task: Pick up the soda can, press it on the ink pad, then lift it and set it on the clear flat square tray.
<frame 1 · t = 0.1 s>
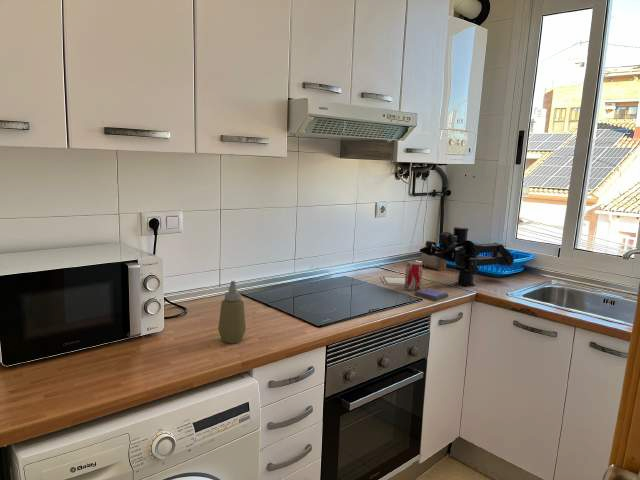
hand: (426, 252, 204), 17 cm above the worktop, tool horizontal, fingers open, 9 cm apart
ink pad: (431, 295, 197), on the worktop
soda can: (412, 289, 206), on the worktop
squeeze bottle: (231, 341, 139), on the worktop
food item: (432, 268, 252), on the worktop
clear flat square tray: (397, 281, 218), on the worktop
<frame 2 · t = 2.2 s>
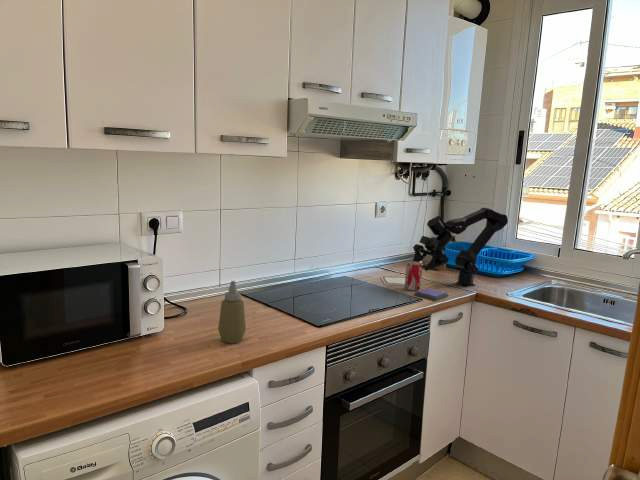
hand: (418, 267, 206), 10 cm above the worktop, tool tilted 45°, fingers open, 9 cm apart
nothing on the worktop moved.
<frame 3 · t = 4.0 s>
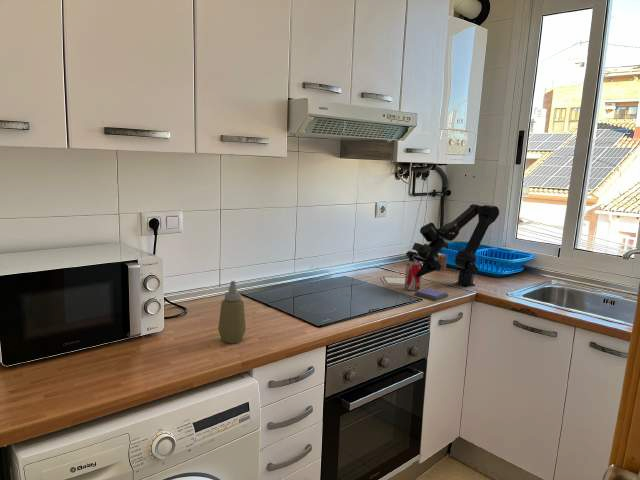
hand: (411, 274, 204), 7 cm above the worktop, tool tilted 45°, fingers closed on soda can, 7 cm apart
soda can: (412, 289, 206), on the worktop, touching gripper
everything else where it was.
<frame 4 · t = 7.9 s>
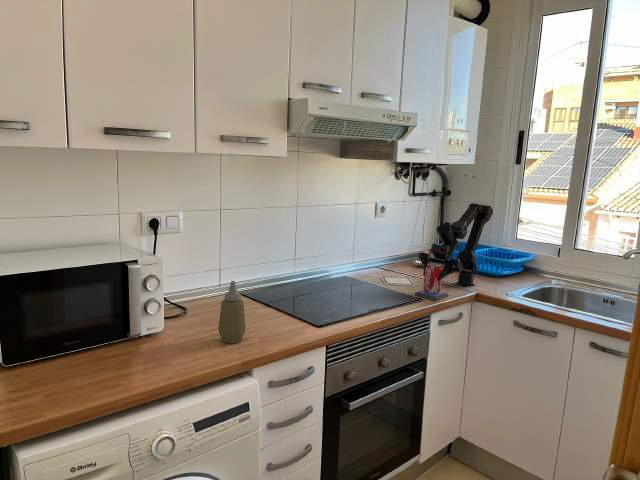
hand: (431, 277, 195), 8 cm above the worktop, tool tilted 45°, fingers closed on soda can, 7 cm apart
soda can: (431, 292, 197), point 1 cm above the worktop, touching gripper, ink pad
everything else where it was.
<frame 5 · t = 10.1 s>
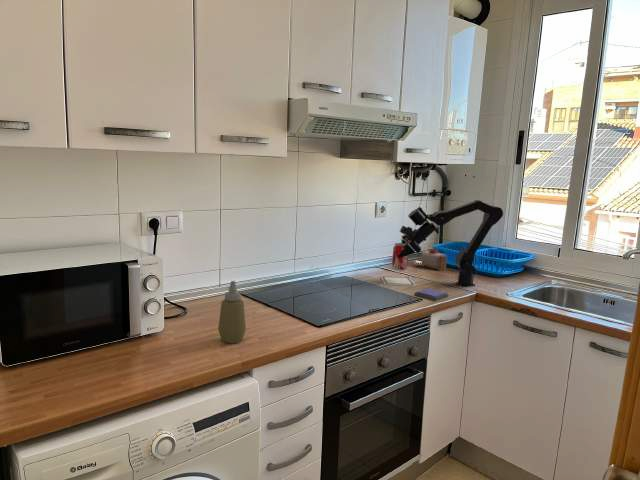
hand: (397, 255, 216), 12 cm above the worktop, tool tilted 45°, fingers closed on soda can, 7 cm apart
soda can: (399, 270, 217), point 6 cm above the worktop, touching gripper
everything else where it was.
when the fingers open (8 cm above the worktop, at t = 12.0 s): soda can stays where it is, resting on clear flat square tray.
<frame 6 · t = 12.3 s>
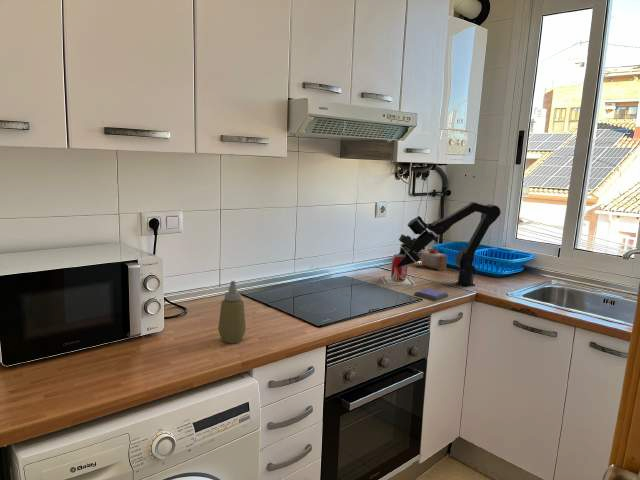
hand: (396, 264, 217), 8 cm above the worktop, tool tilted 45°, fingers open, 9 cm apart
soda can: (398, 280, 218), resting on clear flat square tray
everything else where it was.
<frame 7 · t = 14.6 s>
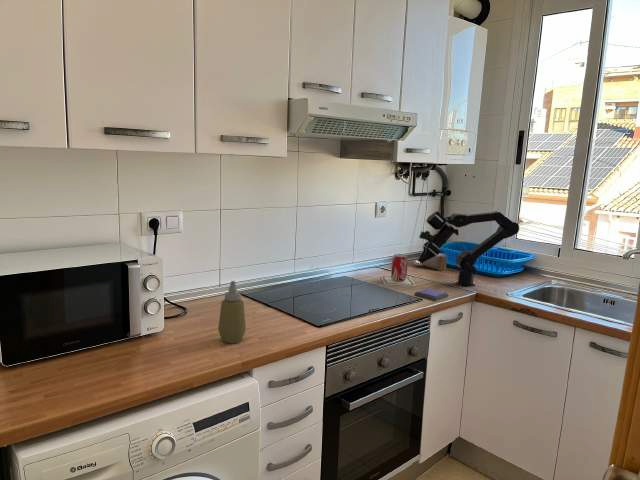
hand: (419, 261, 216), 10 cm above the worktop, tool tilted 40°, fingers open, 9 cm apart
nothing on the worktop moved.
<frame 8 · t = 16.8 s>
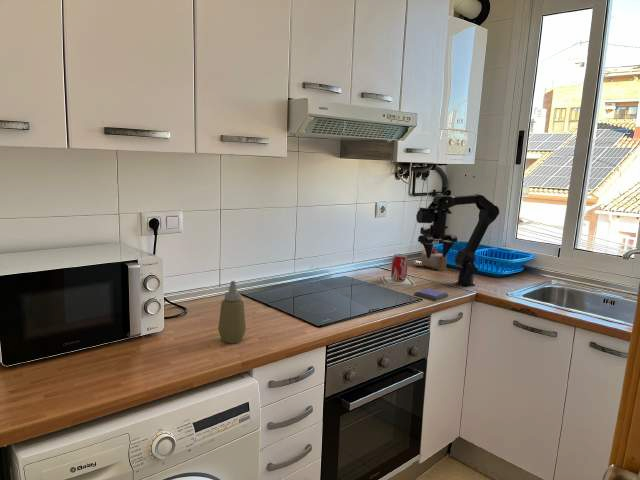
hand: (436, 257, 212), 13 cm above the worktop, tool pointing down, fingers open, 9 cm apart
nothing on the worktop moved.
at the end: soda can inside the target area on the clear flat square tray (0.4 cm from its centre), point 0.2 cm above the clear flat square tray's base; soda can tilted 0°; the gripper is holding nothing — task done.
